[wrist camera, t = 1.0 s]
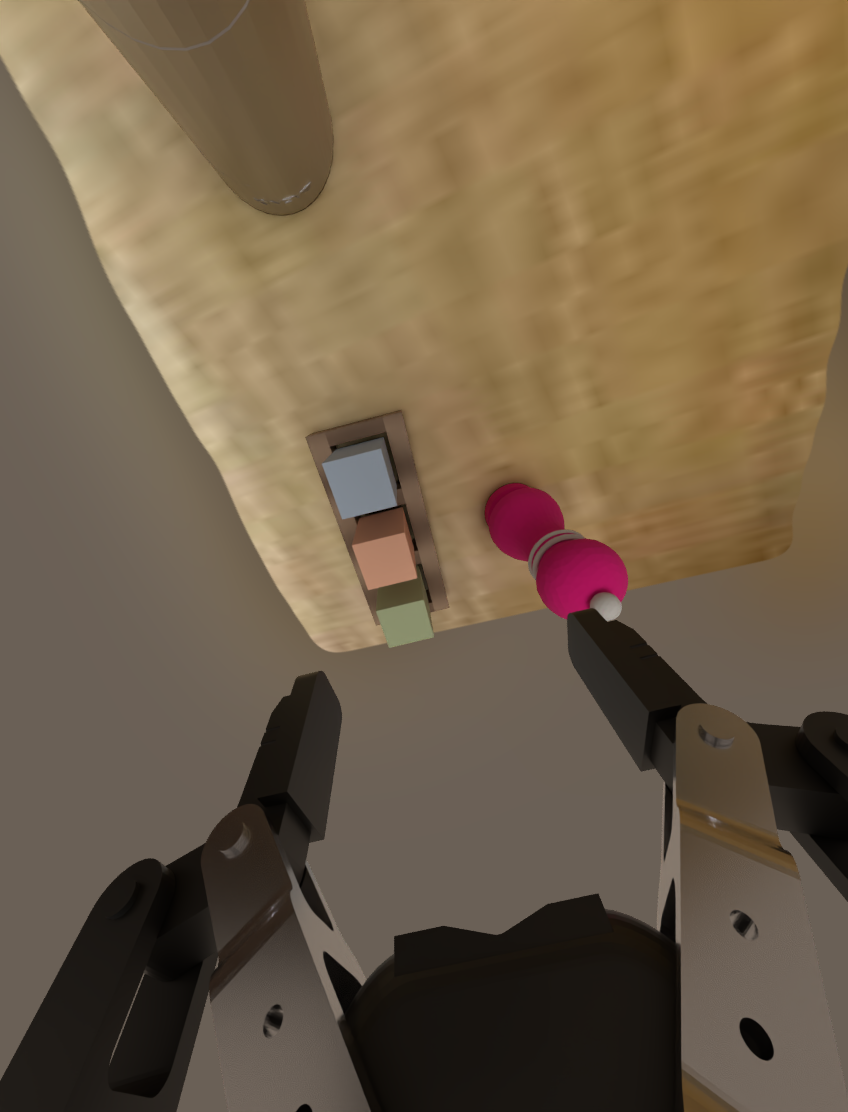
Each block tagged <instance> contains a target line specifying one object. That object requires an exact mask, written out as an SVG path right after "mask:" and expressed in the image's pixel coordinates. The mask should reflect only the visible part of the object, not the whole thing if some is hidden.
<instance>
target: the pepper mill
mask: <svg viewBox="0 0 848 1112" xmlns="http://www.w3.org/2000/svg"><path fill="white" fill-rule="evenodd" d="M485 519H486V522H487V524H488V526H489V531H490V535H491V538H492V540H493V542H494V543H495V544H496V546H497V547H498V548H499V549H500V550H501V551H502V552H504V553H505V554H507V555H509V556H511V557H513V558H515V559H518V560H523V561H527V562H528V567H529V571H530V573H531V575H532V576H533V578H534V579H535V580H536V585H537V591H538V593H539V595H540V597H541V599H542V601H543V603H544V604H545V605H546V606H547V607H548V608H549V609H550V610H551V611H552V612H554V613H555V614H557V615H558V616H560V617H562V618H564V619H567V616H568V614H569V613H572V612H576V611H581V610H585V609H589V608H594V609H596V610H597V611H598V612H599V613H600V614H601V615H602V617H603V618H604V619H605V620H606V621H609V620H613V619H615V618H617V617H618V616H619V614H620V612H621V609H622V605H621V601H622V600H623V598H624V596H625V594H626V590H627V586H628V575H627V570H626V567H625V565H624V563H623V561H622V560H621V558H620V557H619V555H618V554H617V553H616V552H615V551H614V550H612V549H611V548H610V547H608V546H607V545H605V544H603V543H601V542H598V541H596V540H591V539H586V538H584V537H583V536H582V535H581V534H579V533H578V532H575V531H572V530H565V529H564V519H563V515H562V512H561V510H560V507H559V505H558V504H557V503H556V501H555V500H554V499H553V498H552V497H551V496H550V495H548V494H547V493H545V492H544V491H541V490H539V489H535V488H530V487H528V486H526V485H524V484H520V483H512V484H507V485H505V486H502V487H501V488H499V489H497V490H496V491H495V492H494V493H493V494H492V495H491V496H490V498H489V500H488V501H487V504H486V507H485Z"/></svg>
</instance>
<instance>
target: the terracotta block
mask: <svg viewBox="0 0 848 1112" xmlns="http://www.w3.org/2000/svg"><path fill="white" fill-rule="evenodd" d="M352 547H353V550H354V553H355V556H356V558H357V561H358V564H359V567H360V569H361V572H362V575H363V577H364V580H365V583H366V586H367V588H368V590H371V589H375V588H380V587H384V586H388V585H392V584H396V583H400V582H404V581H408V580H412V579H416V578H417V570H416V562H415V554H414V546H413V542H412V539H411V535H410V531H409V528H408V524H407V521H406V517H405V513H404V510H403V507H399V508H395V509H392V510H388V511H384V512H380V513H376V514H372V515H368V516H364V517H360V518H359V521H358V525H357V528H356V532H355V536H354V539H353V543H352Z"/></svg>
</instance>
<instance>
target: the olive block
mask: <svg viewBox="0 0 848 1112" xmlns="http://www.w3.org/2000/svg"><path fill="white" fill-rule="evenodd" d="M416 570H417V578H416V579H412V580H408V581H404V582H400V583H396V584H392V585H388V586H384V587H380V588H378V592H377V604H376V613H377V616H378V618H379V621H380V624H381V626H382V629H383V632H384V635H385V637H386V640H387V643H388V645H389V648H390V647H395V646H399V645H403V644H407V643H411V642H416V641H420V640H424V639H428V638H433V637H434V633H433V627H432V621H431V615H430V609H429V602H428V597H427V593H426V590H425V586H424V582H423V579H422V575H421V571H420V568H419V565H416Z"/></svg>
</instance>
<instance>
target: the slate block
mask: <svg viewBox="0 0 848 1112" xmlns="http://www.w3.org/2000/svg"><path fill="white" fill-rule="evenodd" d="M322 466H323V468H324V471H325V474H326V477H327V479H328V482H329V485H330V488H331V490H332V493H333V496H334V498H335V501H336V504H337V507H338V509H339V512H340V515H341V518H342V520H343V519H347V518H351V517H355V516H359V515H363V514H367V513H371V512H375V511H379V510H383V509H387V508H390V507H394V506H397V484H396V480H395V477H394V473H393V470H392V466H391V462H390V459H389V455H388V451H387V448H386V444H385V440H384V437H381V438H377V439H373V440H370V441H366V442H362V443H358V444H354V445H350V446H346V447H342V448H339V449H336V450H335V451H334V452H333V453H332V454H331V455H330V456H329V457H328V458H327V459H326V460H325V461H324V462H323V463H322Z"/></svg>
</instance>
